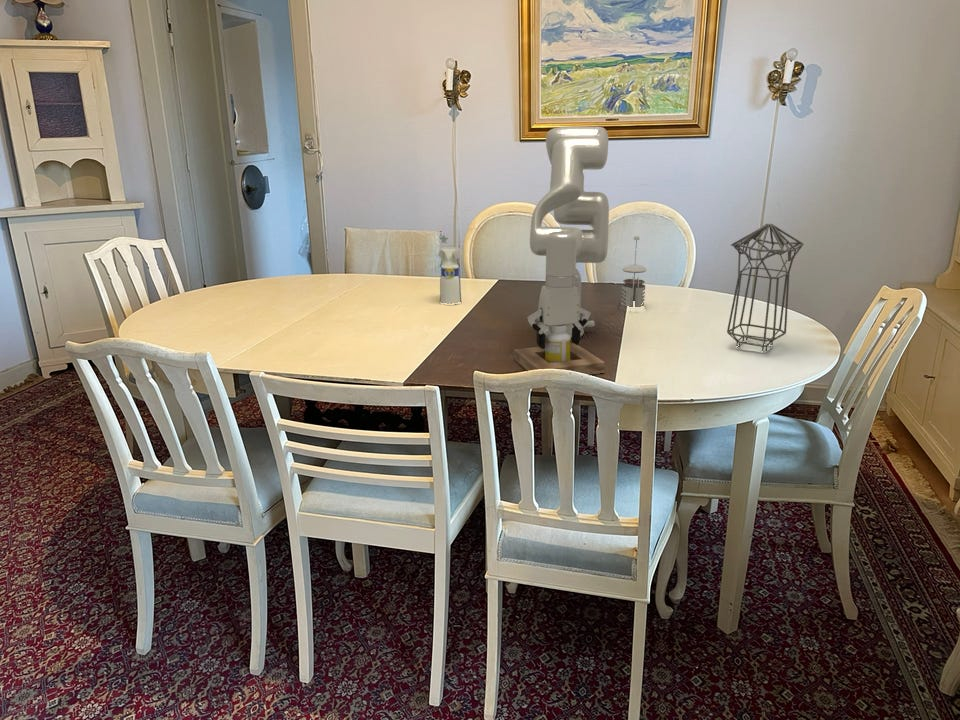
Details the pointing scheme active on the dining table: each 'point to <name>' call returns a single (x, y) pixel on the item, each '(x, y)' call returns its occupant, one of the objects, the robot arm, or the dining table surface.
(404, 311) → the dining table surface
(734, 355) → the dining table surface
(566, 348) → the pill bottle
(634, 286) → the french press
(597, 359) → the board with square hole
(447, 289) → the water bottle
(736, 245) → the geometric lantern
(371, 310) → the dining table surface
